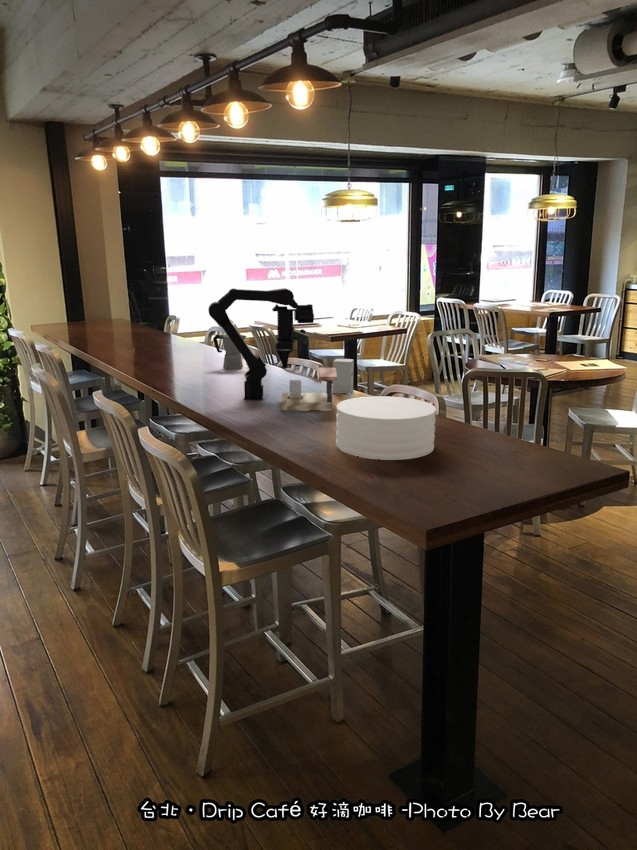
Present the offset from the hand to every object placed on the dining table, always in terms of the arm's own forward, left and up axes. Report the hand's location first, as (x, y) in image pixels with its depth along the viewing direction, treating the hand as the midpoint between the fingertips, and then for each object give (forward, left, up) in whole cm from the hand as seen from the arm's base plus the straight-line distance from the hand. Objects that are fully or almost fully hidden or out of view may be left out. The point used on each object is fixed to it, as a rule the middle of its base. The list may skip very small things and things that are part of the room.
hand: (285, 365), depth 253 cm
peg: (+4, -14, -12) cm, 19 cm away
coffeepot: (-28, +62, -12) cm, 69 cm away
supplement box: (+22, +10, -12) cm, 27 cm away
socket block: (+8, -14, -12) cm, 20 cm away
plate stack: (+31, -63, -12) cm, 71 cm away
